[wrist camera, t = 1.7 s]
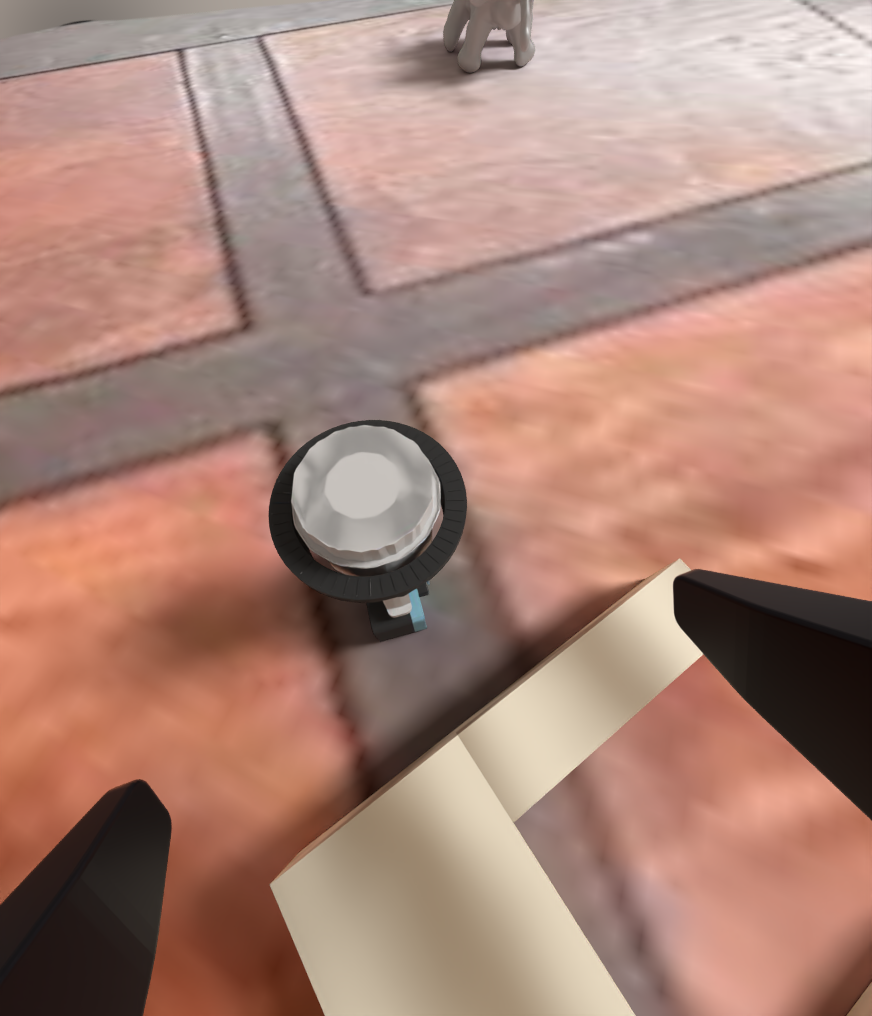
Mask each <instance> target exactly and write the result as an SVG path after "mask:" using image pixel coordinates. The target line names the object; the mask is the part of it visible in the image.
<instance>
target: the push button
mask: <svg viewBox="0 0 872 1016" xmlns="http://www.w3.org/2000/svg"><path fill="white" fill-rule="evenodd" d="M441 506H442V509H443V515H444V517H443V521H442V524H441V527H440V529H439V531H438V533H437V535H436V537H435V538H434V540H433V541H432V527H433V525H434V523H435V521H436V519H437V517H438V515H439V511H440V507H441ZM466 511H467V497H466V490H465V485H464V481H463V478H462V476H461V473H460V471H459V469H458V467H457V465H456V463H455V462H454V460H453V459H452V457H451V456H450V455H449V453H448V452H447V451H446V450H445V449H444V448H443V447H442V446H441V445H440V444H439V443H438V442H436V441H435V440H434V439H433V438H431V437H430V436H428V435H427V434H425V433H423V432H421V431H419V430H417V429H415V428H413V427H410V426H407V425H404V424H400V423H396V422H391V421H382V420H366V421H357V422H351V423H347V424H343V425H340V426H337V427H334V428H332V429H330V430H327V431H325V432H323V433H321V434H320V435H318V436H316V437H314V438H313V439H311V440H310V441H309V442H307V443H306V444H305V445H304V446H302V447H301V448H300V449H299V450H298V451H297V452H296V453H295V454H294V455H293V456H292V457H291V458H290V460H289V461H288V462H287V463H286V465H285V466H284V468H283V469H282V471H281V472H280V474H279V476H278V478H277V480H276V483H275V485H274V488H273V491H272V495H271V498H270V505H269V527H270V532H271V537H272V540H273V543H274V545H275V548H276V550H277V552H278V554H279V556H280V557H281V559H282V560H283V562H284V563H285V565H286V566H287V567H288V568H289V569H290V570H291V572H292V573H294V574H295V575H296V576H297V577H298V578H299V579H300V580H301V581H302V582H304V583H305V584H306V585H308V586H309V587H311V588H312V589H314V590H316V591H318V592H319V593H321V594H324V595H326V596H329V597H331V598H335V599H339V600H343V601H349V602H360V603H367V608H368V613H369V617H370V622H371V627H372V631H373V634H374V635H375V636H376V637H377V639H378V640H379V641H380V642H381V641H385V640H388V639H391V638H395V637H399V636H402V635H406V634H409V633H413V632H416V631H420V630H423V629H427V627H426V623H425V618H424V614H423V610H422V606H421V602H420V598H419V597H422V596H426V595H428V594H429V592H428V587H427V584H428V585H430V581H429V580H430V579H432V578H433V577H434V576H435V575H436V574H437V573H438V572H439V571H440V570H441V569H442V568H443V567H444V566H445V564H446V563H447V562H448V561H449V559H450V558H451V556H452V555H453V553H454V552H455V550H456V548H457V546H458V544H459V541H460V539H461V536H462V533H463V529H464V525H465V519H466ZM309 548H310V549H311V550H312V551H313V552H314V553H316V554H318V555H320V556H321V557H323V558H325V559H326V560H328V561H329V562H330V564H331V565H332V566H333V568H334V569H336V570H338V571H340V572H341V573H343V574H341V573H338V572H335V571H332V570H330V569H328V568H326V567H324V566H322V565H321V564H319V563H318V562H316V561H315V560H314V559H313V557H312V555H311V553H310V550H309ZM426 582H427V584H426Z"/></svg>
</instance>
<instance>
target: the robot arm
mask: <svg viewBox="0 0 872 1016" xmlns="http://www.w3.org/2000/svg"><path fill="white" fill-rule="evenodd" d="M673 605H674V616H675V620H676V622H677V624H678V625H679V627H680V628H681V629H682V630H683V632H684V633H685V634H686V635H687V636H688V637H689V638H690V639H691V641H692V642H693V643H694V644H695V645H696V646H697V647H698V648H699V650H700V651H701V652H702V653H703V654H704V655H705V656H706V657H707V659H708V660H709V661H710V662H711V663H712V664H713V665H714V667H715V668H716V669H717V670H718V671H719V672H720V673H721V674H722V676H723V677H724V678H725V679H726V680H727V681H728V682H729V683H730V685H731V686H732V687H733V688H734V689H735V690H736V691H737V692H738V693H739V694H740V695H741V696H742V697H743V699H744V700H745V701H746V702H747V703H748V704H749V705H750V706H751V707H752V708H753V709H754V710H756V711H757V712H758V713H759V714H760V715H761V716H762V717H763V718H764V719H765V720H766V721H767V722H768V723H769V724H770V725H771V726H772V727H773V728H774V729H775V730H777V731H778V732H779V733H780V734H781V735H782V736H783V737H784V738H785V739H786V740H787V741H788V742H789V743H790V744H791V745H792V746H793V747H795V748H796V749H797V750H798V751H799V752H800V753H801V754H802V755H803V756H804V757H805V758H806V759H807V760H808V761H809V762H810V763H811V764H812V765H814V766H815V767H816V768H817V769H818V770H819V771H820V772H821V773H822V774H823V775H824V776H825V777H826V778H827V779H828V780H829V781H830V782H832V783H833V784H834V785H835V786H836V787H837V788H838V789H839V790H840V791H841V792H842V793H843V794H844V795H845V796H846V797H847V798H848V799H849V800H851V801H852V802H853V803H854V804H855V805H856V806H857V807H858V808H859V809H860V810H861V811H862V812H863V813H864V814H865V815H866V816H867V817H869V818H870V819H871V820H872V601H867V600H861V599H856V598H850V597H845V596H840V595H834V594H829V593H824V592H818V591H813V590H808V589H802V588H797V587H792V586H786V585H781V584H776V583H770V582H765V581H760V580H755V579H749V578H744V577H739V576H733V575H728V574H723V573H717V572H712V571H707V570H701V569H694V570H691V571H688V572H686V573H683V574H680V575H678V576H676V577H675V579H674V581H673ZM171 829H172V825H171V818H170V815H169V812H168V810H167V809H166V808H165V806H164V805H163V804H162V802H161V801H160V800H159V798H158V797H157V795H156V794H155V793H154V791H153V790H152V789H151V787H150V786H149V785H148V783H147V782H146V781H143V780H141V779H139V780H134V781H131V782H128V783H126V784H123V785H120V786H118V787H115V788H113V789H111V790H109V791H108V792H107V793H106V794H105V795H104V796H103V797H102V798H101V799H100V800H99V801H98V802H97V803H96V804H95V805H94V806H93V807H92V808H91V809H90V810H89V811H88V812H87V814H86V815H85V816H84V817H83V818H82V819H81V820H80V821H79V822H78V823H77V824H76V825H75V826H74V827H73V828H72V829H71V831H70V832H69V833H68V834H67V835H66V836H65V837H64V838H63V839H62V840H61V841H60V842H59V843H58V844H57V845H56V846H55V847H54V849H53V850H52V851H51V852H50V853H49V854H48V855H47V856H46V857H45V858H44V859H43V860H42V861H41V862H40V863H39V864H38V865H37V867H36V868H35V869H34V870H33V871H32V872H31V873H30V874H29V875H28V876H27V877H26V878H25V879H24V880H23V881H22V882H21V883H20V885H19V886H18V887H17V888H16V889H15V890H14V891H13V892H12V893H11V894H10V895H9V896H8V897H7V898H6V899H5V900H4V902H3V903H2V904H1V905H0V1016H143V1013H144V1008H145V1003H146V999H147V994H148V989H149V985H150V980H151V974H152V969H153V964H154V959H155V953H156V947H157V940H158V934H159V926H160V918H161V910H162V902H163V894H164V886H165V878H166V870H167V862H168V854H169V847H170V839H171Z"/></svg>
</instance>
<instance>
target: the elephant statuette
mask: <svg viewBox="0 0 872 1016" xmlns="http://www.w3.org/2000/svg"><path fill="white" fill-rule="evenodd" d="M533 1H534V0H454V2H453V5H452V7H451V9H450V12H449V15H448V18H447V21H446V23H445V26H444V31H443V38H444V45H445V47H446V49H447V50H448V51H450V52H451V51H453V50H454V49H455V48H456V46H457V44H458V41H459V38H460V35H461V33H462V30H463V28H464V26H465V25H466V23H467V21H468V20H469V23H468V26H467V30H466V37H465V41H464V44H463V47H462V48H461V50H460V52H459V54H458V58H457V60H458V65H459V66H460V68H462V69H463V70H464V71H466V72H468V73H471V72H475V71H476V70H478V68H479V67H480V64H481V52H482V49H483V46H484V44H485V42H486V40H487V37H488V35H489V33H490V31H491V30H492V29H493V30H495V29H496V28H497V29H498V30H501V29H503V30H506V37H507V40H508V41H509V43H511V44H512V45H513V48H514V60H515V63H516V64H517V65H518V66H524V65H526V64H527V63H528V62H529V61H530V60H531V59H532V58H533V56H534V53H535V46H534V43H533V42H532V40H531V29H532V19H533V14H532V9H533Z"/></svg>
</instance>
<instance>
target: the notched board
mask: <svg viewBox="0 0 872 1016" xmlns="http://www.w3.org/2000/svg"><path fill="white" fill-rule="evenodd" d="M688 571H691V570H690V568H689V567H688V566H687V565H686V564H685V563H684V562H683V561H682V560H681V559H678V560H676V561H675V562H673V563H671V564H670V565H668V566H666V567H665V568H663V569H661V570H659V571H658V572H656V573H654V574H653V575H651V576H649V577H648V578H646V579H645V580H643V581H642V582H641V583H640V584H638V585H637V586H636V587H635V588H633V589H632V590H631V591H630V592H628V593H627V594H626V595H624V596H623V597H622V598H621V599H619V600H618V601H617V602H616V603H614V604H613V605H612V606H611V607H609V608H608V609H607V610H605V611H604V612H603V613H602V614H600V615H599V616H598V617H597V618H595V619H594V620H593V621H592V622H590V623H589V624H588V625H586V626H585V627H584V628H583V629H581V630H580V631H579V632H578V633H576V634H575V635H574V636H573V637H571V638H570V639H569V640H567V641H566V642H565V643H564V644H562V645H561V646H560V647H559V648H557V649H556V650H555V651H554V652H552V653H551V654H550V655H548V656H547V657H546V658H545V659H543V660H542V661H541V662H540V663H538V664H537V665H536V666H535V667H533V668H532V669H531V670H529V671H528V672H527V673H526V674H524V675H523V676H522V677H521V678H519V679H518V680H517V681H516V682H514V683H513V684H512V685H510V686H509V687H508V688H507V689H505V690H504V691H503V692H502V693H500V694H499V695H498V696H497V697H495V698H494V699H493V700H491V701H490V702H489V703H488V704H486V705H485V706H484V707H483V708H481V709H480V710H479V711H478V712H476V713H475V714H474V715H472V716H471V717H470V718H469V719H467V720H466V721H465V722H464V723H462V724H461V725H460V726H459V727H457V728H456V729H455V730H453V731H452V732H451V733H450V734H448V735H447V736H446V737H445V738H443V739H442V740H441V741H440V742H438V743H437V744H436V745H434V746H433V747H432V748H431V749H429V750H428V751H427V752H426V753H424V754H423V755H422V756H421V757H419V758H418V759H417V760H415V761H414V762H413V763H412V764H410V765H409V766H408V767H407V768H405V769H404V770H403V771H402V772H400V773H399V774H398V775H396V776H395V777H394V778H393V779H391V780H390V781H389V782H388V783H386V784H385V785H384V786H382V787H381V788H380V789H379V790H377V791H376V792H375V793H374V794H372V795H371V796H370V797H369V798H367V799H366V800H365V801H363V802H362V803H361V804H360V805H358V806H357V807H356V808H355V809H353V810H352V811H351V812H350V813H348V814H347V815H346V816H344V817H343V818H342V819H341V820H339V821H338V822H337V823H336V824H334V825H333V826H332V827H331V828H329V829H328V830H327V831H325V832H324V833H323V834H322V835H320V836H319V837H318V838H317V839H315V840H314V841H313V842H312V843H310V844H309V845H308V846H306V847H305V848H304V849H303V850H301V851H300V852H299V853H298V854H297V855H296V856H295V857H294V858H293V859H292V860H291V861H290V863H289V864H288V865H287V866H286V867H285V868H284V869H283V870H282V871H281V873H280V874H279V875H278V876H277V877H276V878H275V879H274V880H273V881H272V882H271V884H270V887H271V889H272V891H273V894H274V896H275V899H276V901H277V903H278V906H279V908H280V910H281V913H282V915H283V918H284V920H285V922H286V925H287V927H288V929H289V932H290V934H291V937H292V939H293V941H294V944H295V946H296V948H297V951H298V953H299V955H300V958H301V960H302V963H303V965H304V967H305V970H306V972H307V974H308V977H309V979H310V982H311V984H312V986H313V989H314V991H315V993H316V996H317V998H318V1000H319V1003H320V1005H321V1008H322V1010H323V1012H324V1015H325V1016H635V1014H634V1013H633V1011H632V1010H631V1008H630V1006H629V1005H628V1003H627V1002H626V1000H625V998H624V997H623V995H622V994H621V992H620V991H619V989H618V987H617V986H616V984H615V983H614V981H613V980H612V978H611V976H610V975H609V973H608V972H607V970H606V969H605V967H604V965H603V964H602V962H601V961H600V959H599V957H598V956H597V954H596V953H595V951H594V950H593V948H592V946H591V945H590V943H589V942H588V940H587V939H586V937H585V935H584V934H583V932H582V931H581V929H580V927H579V926H578V924H577V923H576V921H575V920H574V918H573V916H572V915H571V913H570V912H569V910H568V909H567V907H566V905H565V904H564V902H563V901H562V899H561V897H560V896H559V894H558V893H557V891H556V890H555V888H554V886H553V885H552V883H551V882H550V880H549V879H548V877H547V875H546V874H545V872H544V871H543V869H542V867H541V866H540V864H539V863H538V861H537V860H536V858H535V856H534V855H533V853H532V852H531V850H530V849H529V847H528V845H527V844H526V842H525V841H524V839H523V838H522V836H521V834H520V833H519V831H518V830H517V828H516V826H515V825H514V822H515V821H516V820H517V819H518V818H519V817H520V816H522V815H523V814H524V813H525V812H526V811H527V810H528V809H529V808H531V807H532V806H533V805H534V804H535V803H536V802H537V801H538V800H540V799H541V798H542V797H543V796H544V795H545V794H546V793H547V792H549V791H550V790H551V789H552V788H553V787H554V786H555V785H556V784H558V783H559V782H560V781H561V780H562V779H563V778H564V777H565V776H567V775H568V774H569V773H570V772H571V771H572V770H573V769H574V768H576V767H577V766H578V765H579V764H580V763H581V762H582V761H583V760H585V759H586V758H587V757H588V756H589V755H590V754H591V753H592V752H594V751H595V750H596V749H597V748H598V747H599V746H600V745H601V744H603V743H604V742H605V741H606V740H607V739H608V738H609V737H610V736H612V735H613V734H614V733H615V732H616V731H617V730H618V729H620V728H621V727H622V726H623V725H624V724H625V723H626V722H627V721H629V720H630V719H631V718H632V717H633V716H634V715H635V714H636V713H638V712H639V711H640V710H641V709H642V708H643V707H644V706H645V705H647V704H648V703H649V702H650V701H651V700H652V699H653V698H654V697H656V696H657V695H658V694H659V693H660V692H661V691H662V690H663V689H665V688H666V687H667V686H668V685H669V684H670V683H671V682H672V681H674V680H675V679H676V678H677V677H678V676H679V675H680V674H681V673H683V672H684V671H685V670H686V669H687V668H688V667H689V666H690V665H692V664H693V663H694V662H695V661H696V660H697V659H698V658H699V657H701V656H702V655H703V653H702V652H701V651H700V650H699V648H698V647H697V646H696V645H695V644H694V643H693V642H692V641H691V639H690V638H689V637H688V636H687V635H686V634H685V633H684V632H683V630H682V629H681V628H680V627H679V625H678V624H677V622H676V620H675V616H674V605H673V581H674V579H675V577H676V576H678V575H680V574H683V573H686V572H688ZM847 1016H872V982H871V983H870V985H869V986H868V987H867V989H866V990H865V992H864V993H863V994H862V996H861V997H860V998H859V1000H858V1001H857V1002H856V1004H855V1005H854V1006H853V1008H852V1009H851V1010H850V1012H849V1013H848V1014H847Z"/></svg>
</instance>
